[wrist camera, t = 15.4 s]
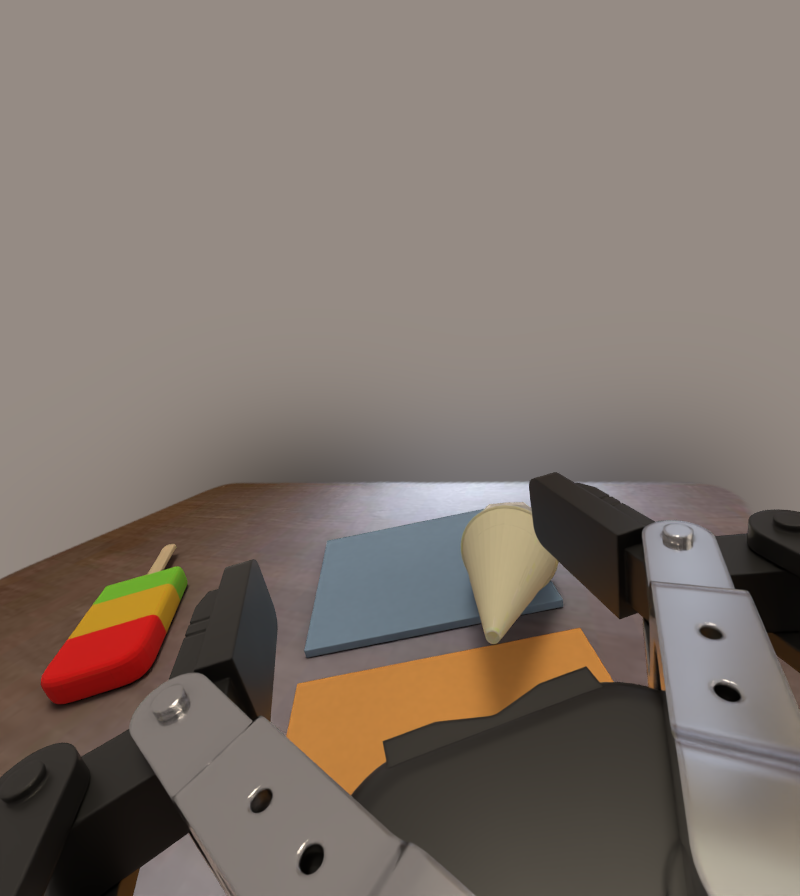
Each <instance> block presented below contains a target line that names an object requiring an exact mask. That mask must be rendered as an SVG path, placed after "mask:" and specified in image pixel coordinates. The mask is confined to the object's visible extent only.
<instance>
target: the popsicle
mask: <svg viewBox="0 0 800 896" xmlns="http://www.w3.org/2000/svg"><path fill="white" fill-rule="evenodd" d="M175 548H176V546H175V544H170V545H167V546H165V547H164V548H163V549H162V551H161V553H160V554H159V556H158V558H157V559H156V561H155V563H154V564H153V566H152V568H151V569H150V571H149V573H148V574H147V575H144V576H141V577H137V578H134V579H130V580H127V581H123V582H120V583H116V584H113V585H109V586H106V587H105V589H104V590H103V591H102V593H101V594H100V596H99V597H98V598H97V600H96V601H95V602H94V604H93V605H92V607H91V608H90V609H89V611H88V612H87V613H86V615H85V616H84V618H83V619H82V620H81V622H80V623H79V624H78V626H77V627H76V629H75V630H74V631H73V633H72V634H71V635H70V637H69V638H68V640H67V641H66V642H65V644H64V645H63V646H62V648H61V649H60V651H59V652H58V653H57V655H56V656H55V657H54V659H53V660H52V662H51V663H50V664H49V666H48V667H47V669H46V670H45V672H44V673H43V675H42V678H41V686H42V689H43V690H44V692H45V693H46V695H47V696H48V698H49V699H50V700H51V701H52V702H53V703H55V704H66V703H70V702H74V701H77V700H80V699H84V698H87V697H90V696H93V695H96V694H99V693H102V692H105V691H109V690H112V689H115V688H118V687H121V686H124V685H126V684H129V683H132V682H134V681H135V680H137V679H139V678H140V677H142V676H143V675H144V674H145V673H146V672H147V671H148V670H149V668H150V667H151V666H152V664H153V662H154V661H155V659H156V656H157V654H158V652H159V649H160V647H161V645H162V642H163V640H164V638H165V635H166V633H167V631H168V628H169V626H170V624H171V621H172V619H173V617H174V614H175V612H176V610H177V607H178V605H179V603H180V600H181V598H182V596H183V593H184V591H185V589H186V586H187V578H186V576H185V573H184V571H183V570H182V568H180V567H173V568H169V569H165V570H164V568H165V566H166V565H167V563H168V561H169V559H170V557H171V555H172V554H173V552H174V550H175Z"/></svg>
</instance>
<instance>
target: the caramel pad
mask: <svg viewBox="0 0 800 896" xmlns="http://www.w3.org/2000/svg"><path fill="white" fill-rule="evenodd" d="M585 666H587V668H588V669H589V670H590V671H591V672H592V674H593V675H594V676H595V677H596V679H597V680H598V681H599V682H613V680H612V678H611V677H610V675H609V674H608V672H607V670H606V669H605V667H604V666H603V664H602V662H601V661H600V659H599V657H598V656H597V654H596V653H595V651H594V649H593V648H592V646H591V645H590V643H589V641H588V640H587V638H586V636H585V635H584V633H583V632H582V630H581V628H577V629H572V630H566V631H561V632H556V633H551V634H546V635H541V636H536V637H531V638H526V639H521V640H516V641H511V642H506V643H501V644H496V645H491V646H486V647H481V648H475V649H470V650H465V651H460V652H455V653H450V654H445V655H440V656H435V657H430V658H425V659H420V660H415V661H410V662H405V663H400V664H395V665H390V666H384V667H379V668H374V669H369V670H364V671H359V672H354V673H349V674H344V675H339V676H334V677H329V678H324V679H319V680H314V681H309V682H304V683H299V684H297V688H296V693H295V698H294V702H293V707H292V712H291V717H290V721H289V726H288V731H287V736H286V737H287V738H288V739H289V740H290V741H291V742H293V743H294V744H295V745H296V746H297V747H298V748H299V749H300V750H301V751H302V752H304V753H305V754H306V755H307V756H308V757H309V758H310V759H311V760H312V761H313V762H315V763H316V764H317V765H318V766H319V767H320V768H321V769H322V770H323V771H324V772H326V773H327V774H328V775H329V776H330V777H331V778H332V779H333V780H334V781H335V782H337V783H338V784H339V785H340V786H341V787H342V788H343V789H344V790H345V791H346V792H348V793H349V794H350V795H351V794H352V793H353V792H354V790H355V789H356V788H357V787H358V786H359V785H360V784H361V783H362V782H363V780H364V779H365V778H366V777H367V776H369V775H370V774H371V773H372V772H373V771H374V770H375V769H376V768H378V767H379V766H380V765H382V764H383V763H385V762H386V757H385V752H384V747H383V742H382V741H385V740H387V739H390V738H393V737H395V736H398V735H401V734H404V733H406V732H409V731H412V730H414V729H417V728H420V727H422V726H425V725H428V724H431V723H433V722H438V721H447V720H456V719H466V718H475V717H485V716H491V715H495V714H497V713H498V712H500V711H501V710H503V709H504V708H506V707H507V706H508V705H510V704H511V703H513V702H514V701H515V700H517V699H518V698H520V697H521V696H522V695H524V694H525V693H527V692H528V691H529V690H531V689H532V688H533V687H535V686H536V685H538V684H539V683H542V682H545V681H547V680H550V679H553V678H555V677H558V676H561V675H564V674H566V673H569V672H572V671H574V670H577V669H580V668H582V667H585Z"/></svg>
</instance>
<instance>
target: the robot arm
mask: <svg viewBox="0 0 800 896" xmlns="http://www.w3.org/2000/svg"><path fill="white" fill-rule="evenodd" d="M529 491H530V500H531V510H532V519H533V527H534V531H535V534H536V536H537V539H538V540H539V542H540V544H541V545H542V546H543V547H544V548H545V549H546V550H547V551H548V552H549V553H550V554H551V555H552V556H553V557H554V558H556V559H557V560H558V561H559V562H560V563H561V564H562V565H563V566H564V567H565V568H566V569H567V570H568V571H569V572H570V573H571V574H572V575H573V576H575V577H576V578H577V579H578V580H579V581H580V582H581V583H582V584H583V585H584V586H585V587H586V588H587V589H588V590H589V591H590V592H591V593H592V594H594V595H595V596H596V597H597V598H598V599H599V600H600V601H601V602H602V603H603V604H604V605H605V606H606V607H607V608H608V609H609V610H610V611H611V612H613V613H614V614H615V615H616V616H617V617H618V618H619V619H622V618H625V617H628V616H630V615H633V614H636V613H639V614H640V615H641V616H642V617H643V636H644V646H645V656H646V667H647V677H648V687H647V686H642V685H637V684H632V683H623V682H599V681H598V680H597V679H596V677H595V676H594V675H593V674H592V672H591V671H590V670H589V669H588V668H587V666H585V667H582V668H580V669H577V670H574V671H572V672H569V673H566V674H564V675H561V676H558V677H555V678H553V679H550V680H547V681H545V682H542V683H539V684H538V685H536V686H535V687H533V688H532V689H531V690H529V691H528V692H527V693H525V694H524V695H522V696H521V697H520V698H518V699H517V700H515V701H514V702H513V703H511V704H510V705H508V706H507V707H506V708H504V709H503V710H501V711H500V712H498V713H497V714H495V715H491V716H485V717H475V718H466V719H456V720H447V721H438V722H433V723H431V724H428V725H425V726H422V727H420V728H417V729H414V730H412V731H409V732H406V733H404V734H401V735H398V736H395V737H393V738H390V739H387V740H385V741H382V742H383V747H384V752H385V757H386V762H385V763H383V764H382V765H380V766H379V767H378V768H376V769H375V770H374V771H373V772H372V773H371V774H370V775H369V776H367V777H366V778H365V779H364V780H363V782H362V783H361V784H360V785H359V786H358V787H357V788H356V789H355V790H354V792H353V793H352V794H351V795H350V794H349V793H348V792H346V791H345V790H344V789H343V788H342V787H341V786H340V785H339V784H338V783H337V782H335V781H334V780H333V779H332V778H331V777H330V776H329V775H328V774H327V773H326V772H324V771H323V770H322V769H321V768H320V767H319V766H318V765H317V764H316V763H315V762H313V761H312V760H311V759H310V758H309V757H308V756H307V755H306V754H305V753H304V752H302V751H301V750H300V749H299V748H298V747H297V746H296V745H295V744H294V743H293V742H291V741H290V740H289V739H288V738H287V737H286V736H285V735H284V734H283V733H282V732H280V731H279V730H278V729H277V728H276V727H275V726H274V725H273V724H272V723H271V722H270V718H271V706H272V693H273V680H274V667H275V655H276V642H277V618H276V612H275V609H274V605H273V602H272V600H271V597H270V594H269V592H268V589H267V586H266V583H265V581H264V578H263V575H262V573H261V570H260V567H259V565H258V563H257V561H256V560H255V559H253V560H249V561H246V562H243V563H239V564H236V565H232V566H229V567H226V568H225V570H224V573H223V576H222V579H221V583H220V586H219V589H217V590H213V591H210V592H208V593H207V594H206V595H205V597H204V598H203V599H202V600H201V601H200V603H199V604H198V605H197V606H196V607H195V610H194V613H193V615H192V618H191V621H190V625H189V626H188V629H187V632H186V634H185V636H186V638H184V640H183V643H182V645H181V648H180V651H179V654H178V656H177V659H176V662H175V664H174V667H173V670H172V673H171V675H170V678H169V680H168V681H167V682H165V683H163V684H162V685H160V686H159V687H157V688H156V689H155V690H154V691H152V692H151V693H150V694H149V695H148V696H147V697H146V698H145V699H144V700H143V701H142V702H141V703H140V705H139V706H138V707H137V709H136V710H135V712H134V714H133V716H132V718H131V721H130V726H129V729H128V730H127V731H125V732H123V733H122V734H120V735H118V736H117V737H115V738H113V739H111V740H110V741H108V742H106V743H104V744H103V745H101V746H99V747H97V748H96V749H94V750H92V751H91V752H89V753H87V754H85V755H84V756H82V757H81V756H80V754H79V753H78V751H77V750H76V748H75V747H74V746H73V745H72V744H69V743H57V744H53V745H50V746H47V747H44V748H42V749H40V750H38V751H36V752H34V753H32V754H31V755H29V756H27V757H26V758H24V759H23V760H21V761H20V762H19V763H17V764H16V765H14V766H13V767H12V768H11V769H10V770H8V771H7V772H6V773H5V774H4V775H3V776H2V777H1V778H0V896H133V893H134V889H135V885H136V881H137V877H138V873H139V869H140V867H142V866H143V865H144V864H146V863H147V862H149V861H150V860H151V859H153V858H154V857H156V856H157V855H158V854H160V853H161V852H163V851H164V850H165V849H167V848H168V847H169V846H171V845H172V844H174V843H175V842H176V841H178V840H179V839H181V838H182V837H183V836H185V835H186V834H189V836H190V837H191V839H192V841H193V842H194V844H195V845H196V847H197V849H198V850H199V852H200V853H201V855H202V856H203V858H204V860H205V861H206V863H207V864H208V866H209V868H210V869H211V871H212V872H213V874H214V876H215V877H216V879H217V880H218V882H219V884H220V885H221V887H222V888H223V890H224V892H225V893H226V895H227V896H800V710H799V708H798V705H797V703H796V701H795V698H794V696H793V693H792V691H791V689H790V686H789V684H788V682H787V679H786V677H785V674H784V672H783V670H782V667H781V665H780V663H779V660H778V658H777V656H778V657H780V658H781V659H782V660H784V661H785V662H786V663H787V664H789V665H790V666H791V667H793V668H794V669H795V670H797V671H798V672H799V673H800V512H797V511H790V510H765V511H760V512H757V513H755V514H753V515H751V516H750V518H749V522H748V533H747V534H736V535H725V536H714V535H713V534H712V533H711V532H710V531H709V530H707V529H705V528H704V527H701V526H699V525H696V524H693V523H689V522H684V521H676V520H665V521H658V522H655V521H653V520H651V519H650V518H648V517H646V516H644V515H643V514H641V513H639V512H637V511H636V510H634V509H632V508H630V507H629V506H627V505H625V504H623V503H620V501H618V500H617V499H615V498H613V497H609V495H608V494H606V493H604V492H603V491H601V490H599V489H597V488H596V487H592V486H588V485H585V484H581V483H574V482H572V481H571V480H569V479H567V478H566V477H564V476H562V475H561V474H559V473H557V472H554V473H550V474H547V475H544V476H540V477H537V478H534V479H531V480H530V483H529ZM776 655H777V656H776Z"/></svg>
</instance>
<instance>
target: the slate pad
mask: <svg viewBox="0 0 800 896" xmlns="http://www.w3.org/2000/svg"><path fill="white" fill-rule="evenodd" d="M483 510H484V509H481V510H476V511H471V512H467V513H462V514H457V515H452V516H447V517H442V518H437V519H432V520H427V521H422V522H417V523H413V524H408V525H403V526H398V527H393V528H388V529H383V530H378V531H373V532H368V533H364V534H359V535H354V536H349V537H344V538H339V539H334V540H329V541H327V545H326V550H325V554H324V559H323V564H322V569H321V573H320V578H319V583H318V588H317V592H316V597H315V602H314V607H313V612H312V616H311V621H310V626H309V631H308V635H307V640H306V645H305V650H304V652H305V655H306V657H307V658H308V657H313V656H318V655H323V654H328V653H333V652H338V651H343V650H348V649H353V648H358V647H363V646H368V645H373V644H378V643H383V642H388V641H393V640H398V639H403V638H408V637H413V636H418V635H423V634H428V633H433V632H438V631H444V630H449V629H454V628H459V627H464V626H469V625H474V624H479V623H482V622H481V619H480V615H479V612H478V608H477V604H476V601H475V597H474V594H473V590H472V586H471V583H470V579H469V574H468V571H467V569H466V568H465V566H464V563H463V560H462V556H461V539H462V535H463V532H464V530H465V528H466V526H467V525H468V523H469V522H470V521H471V520H472V519H473V517H474V516H476V515H477V514H479V513H480V512H481V511H483ZM559 607H563V599H562V598H561V596H560V595H559V593H558V591H557V590H556V588H555V586H554V585H553V583H552V582H551V580H550V581H549V583H548V584H547V585H546V586H545V587H543V588H542V589H541V590H539V591H538V593H537V594H536V596H535V597H534V598H533V600H532V601H531V602H530V603H529V605H528V606H527V607H526V608H525V610H524V611H523V612H522V613H521V615H524V614H529V613H534V612H539V611H544V610H549V609H554V608H559Z"/></svg>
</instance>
